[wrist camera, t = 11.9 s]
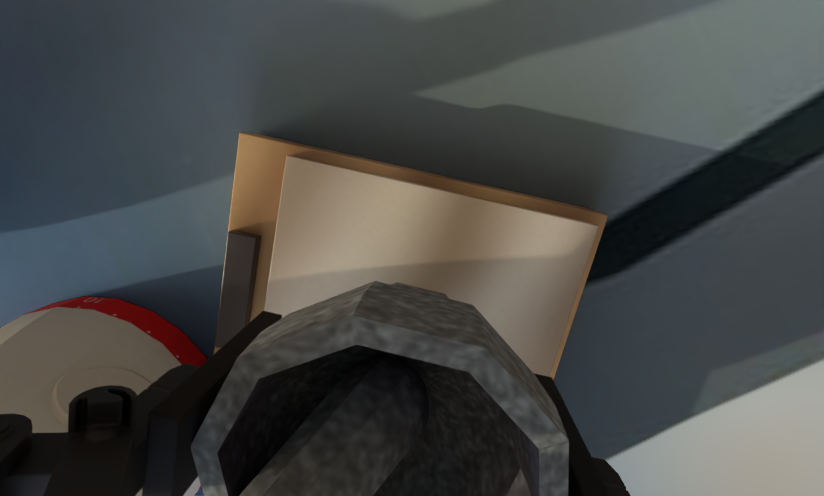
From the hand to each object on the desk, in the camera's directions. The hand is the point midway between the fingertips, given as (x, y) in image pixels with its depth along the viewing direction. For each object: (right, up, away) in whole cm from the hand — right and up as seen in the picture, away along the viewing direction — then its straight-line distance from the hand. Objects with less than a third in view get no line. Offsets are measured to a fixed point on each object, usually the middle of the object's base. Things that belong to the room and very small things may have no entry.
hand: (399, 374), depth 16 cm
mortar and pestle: (0, 0, +1) cm, 1 cm away
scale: (0, +2, +6) cm, 6 cm away
